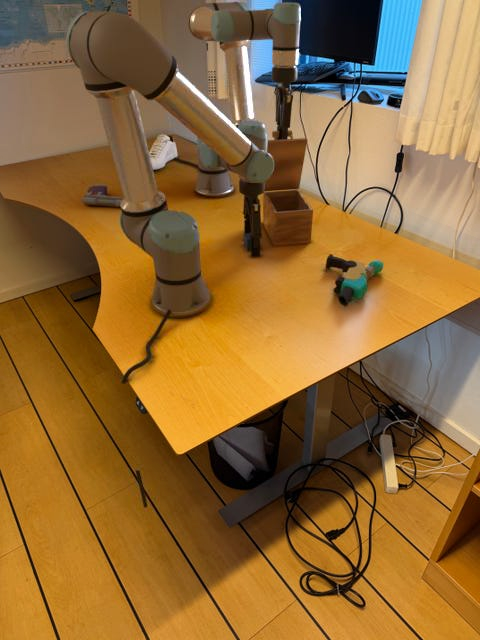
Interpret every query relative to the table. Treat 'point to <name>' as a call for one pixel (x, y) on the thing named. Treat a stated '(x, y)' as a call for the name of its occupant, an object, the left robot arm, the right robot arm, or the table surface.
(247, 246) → the block
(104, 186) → the toy gun
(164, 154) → the sneaker
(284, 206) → the chest
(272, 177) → the lid
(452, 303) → the table surface
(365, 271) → the toy gun
